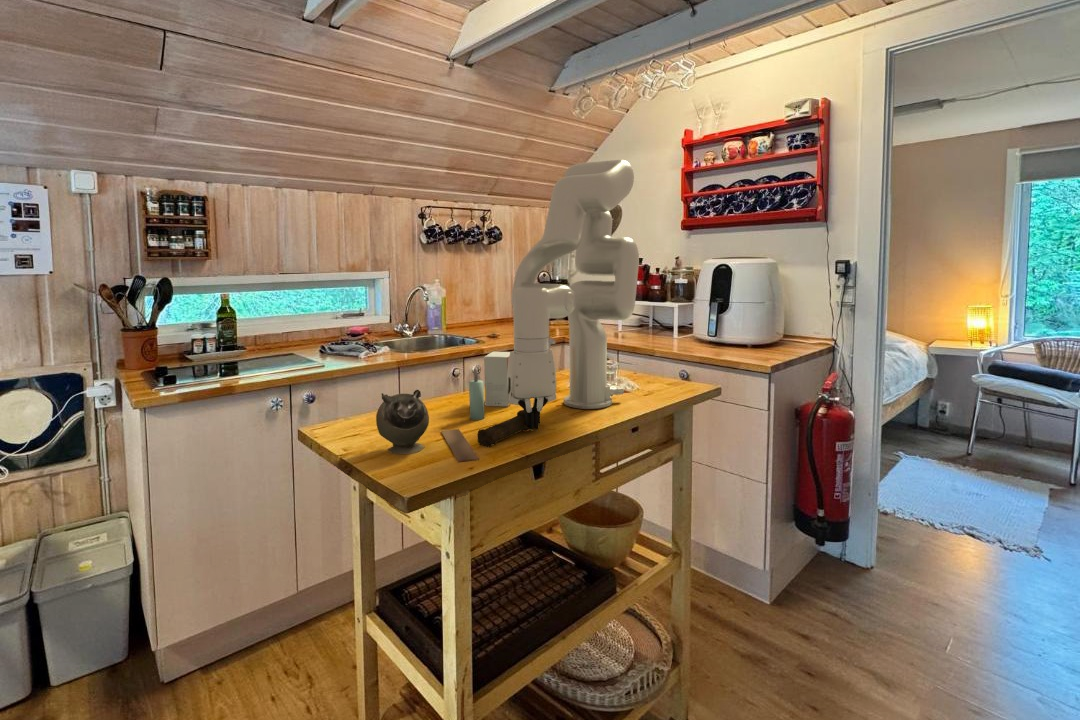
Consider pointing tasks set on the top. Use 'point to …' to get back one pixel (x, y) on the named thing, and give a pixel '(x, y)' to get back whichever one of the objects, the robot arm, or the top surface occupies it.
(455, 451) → the joist strip
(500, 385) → the small box
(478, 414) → the green ice pop
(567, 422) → the top surface
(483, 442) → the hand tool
